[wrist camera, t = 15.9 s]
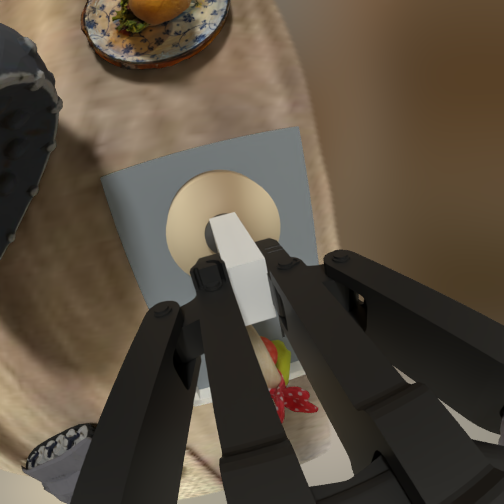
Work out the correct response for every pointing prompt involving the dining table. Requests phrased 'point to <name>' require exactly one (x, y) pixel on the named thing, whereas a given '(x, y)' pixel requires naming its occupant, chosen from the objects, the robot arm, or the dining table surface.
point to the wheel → (216, 214)
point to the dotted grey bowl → (23, 127)
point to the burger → (151, 29)
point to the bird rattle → (279, 375)
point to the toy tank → (60, 460)
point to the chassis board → (166, 186)
